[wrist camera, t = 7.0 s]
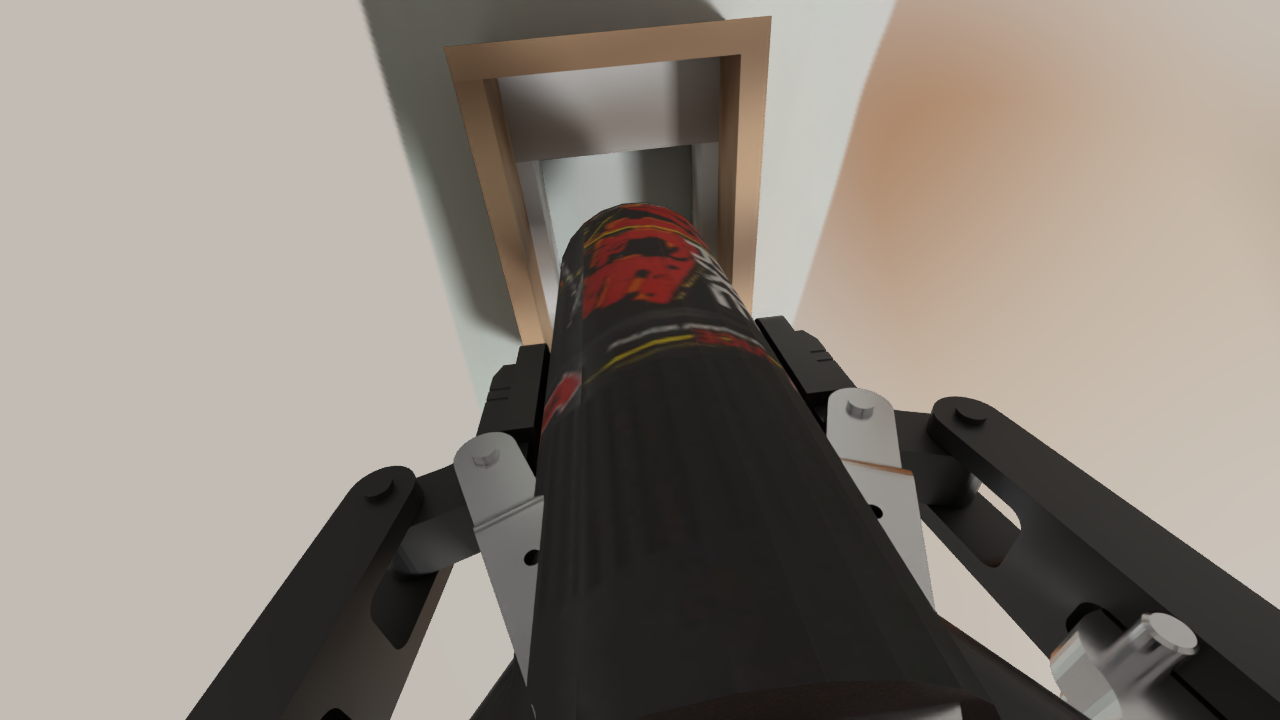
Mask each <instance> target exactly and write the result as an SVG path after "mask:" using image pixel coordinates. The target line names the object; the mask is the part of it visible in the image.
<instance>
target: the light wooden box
mask: <svg viewBox="0 0 1280 720" xmlns="http://www.w3.org/2000/svg"><path fill="white" fill-rule="evenodd" d="M771 18H772V16H764V17H753V18H743V19H732V20H722V21H711V22H701V23H690V24H679V25H669V26H658V27H648V28H637V29H627V30H616V31H605V32H595V33H584V34H574V35H563V36H553V37H542V38H531V39H521V40H510V41H500V42H489V43H479V44H468V45H457V46H447V47H444V50H445V54H446V57H447V61H448V65H449V69H450V72H451V76H452V80H453V84H454V88H455V91H456V95H457V99H458V103H459V106H460V110H461V114H462V118H463V121H464V125H465V129H466V133H467V136H468V140H469V144H470V148H471V151H472V155H473V159H474V163H475V167H476V170H477V174H478V178H479V182H480V185H481V189H482V193H483V197H484V200H485V204H486V208H487V212H488V215H489V219H490V223H491V227H492V230H493V234H494V238H495V242H496V245H497V249H498V253H499V257H500V261H501V264H502V268H503V272H504V276H505V279H506V283H507V287H508V291H509V294H510V298H511V302H512V306H513V309H514V313H515V317H516V321H517V324H518V328H519V332H520V336H521V340H522V343H523V346H525V345H533V344H541V343H547V344H548V347H549V350H550V354H551V345H552V337H553V329H554V320H555V312H556V304H557V296H558V287H559V279H560V272H561V270H560V265H559V259H558V254H557V249H556V243H555V238H554V233H553V228H552V222H551V217H550V212H549V207H548V201H547V196H546V191H545V185H544V180H543V175H542V170H541V164H540V160H548V159H558V158H567V157H577V156H587V155H596V154H606V153H615V152H625V151H635V150H644V149H654V148H664V147H673V146H683V145H692V206H693V226H694V227H695V228H696V229H697V230H698V232H699V234H700V235H701V237H702V238H703V240H704V242H705V243H706V245H707V246H708V248H709V250H710V251H711V253H712V254H713V256H714V258H715V259H716V261H717V262H718V264H719V266H720V267H721V269H722V270H723V272H724V274H725V275H726V277H727V278H728V280H729V282H730V283H731V285H732V286H733V288H734V290H735V291H736V293H737V294H738V296H739V297H740V299H741V301H742V302H743V304H744V305H745V307H746V309H747V310H748V312H749V313H750V315H751V316H752V301H753V286H754V271H755V256H756V242H757V227H758V212H759V197H760V182H761V167H762V152H763V137H764V122H765V107H766V92H767V78H768V63H769V48H770V33H771Z"/></svg>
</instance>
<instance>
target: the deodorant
mask: <svg viewBox="0 0 1280 720" xmlns="http://www.w3.org/2000/svg"><path fill="white" fill-rule="evenodd" d="M540 494H543V496H544V507H543V517H542V528H541V538H540V549H539V551H538V552H537V553H536V555H535V557H534V559H533V561H532V563H531V566H533V565H536V564H537V563H538V570H537V581H536V591H535V602H534V612H533V623H532V633H531V644H530V654H529V665H528V675H527V687H526V684H525V681H524V678H523V675H522V672H521V669H520V666H519V663H518V660H517V657H516V654H515V651H514V665H513V674H512V683H511V692H510V700H509V709H508V717H507V720H836V719H842V718H849V717H856V716H862V715H869V714H876V713H882V712H889V711H895V710H902V709H909V708H915V707H922V706H929V705H935V704H942V703H949V702H955V701H959V703H960V708H961V714H962V720H1001V718H1000V716H999V714H998V712H997V710H996V707H995V705H994V704H993V702H992V700H991V699H990V697H989V696H988V694H987V692H986V691H985V689H984V688H983V686H982V684H981V683H980V681H979V680H978V678H977V676H976V675H975V673H974V672H973V670H972V668H971V667H970V665H969V664H968V662H967V660H966V659H965V657H964V656H963V654H962V652H961V651H960V649H959V648H958V646H957V644H956V643H955V641H954V640H953V638H952V636H951V635H950V633H949V632H948V630H947V628H946V627H945V625H944V624H943V622H942V620H941V619H940V617H939V616H938V614H937V612H936V611H934V609H933V607H932V606H931V604H930V603H929V601H928V599H927V598H926V596H925V595H924V593H923V591H922V590H921V588H920V587H919V585H918V583H917V582H916V580H915V579H914V577H913V575H912V574H911V572H910V571H909V569H908V567H907V566H906V564H905V563H904V561H903V559H902V558H901V556H900V554H899V553H898V551H897V550H896V548H895V546H894V545H893V543H892V542H891V540H890V538H889V537H888V535H887V534H886V532H885V530H884V529H883V527H882V526H881V524H880V522H879V521H878V518H877V517H876V515H875V513H874V512H873V510H872V509H871V507H870V505H868V503H867V502H866V500H865V498H864V497H863V495H862V494H861V492H860V490H859V489H858V487H857V486H856V484H855V482H854V481H853V479H852V478H851V476H850V474H849V473H848V471H847V469H846V468H845V466H844V465H843V463H842V461H841V459H840V457H839V456H838V454H837V453H836V451H835V449H834V448H833V446H832V445H831V443H830V441H829V440H828V438H827V437H826V435H825V433H824V432H823V430H822V429H821V427H820V425H819V424H818V422H817V421H816V419H815V417H814V416H813V414H812V413H811V411H810V409H809V408H808V406H807V405H806V403H805V401H804V400H803V398H802V397H801V395H800V393H799V392H798V390H797V389H796V387H795V385H794V384H793V382H792V381H791V379H790V377H789V376H788V374H787V373H786V371H785V369H784V368H783V366H782V365H781V363H780V361H779V360H778V358H777V357H776V355H775V353H774V352H773V350H772V349H771V347H770V345H769V344H768V342H767V341H766V339H765V337H764V336H763V334H762V333H761V331H760V329H759V328H758V326H757V325H756V323H755V321H754V320H753V318H752V317H751V315H750V313H749V312H748V310H747V309H746V307H745V305H744V304H743V302H742V301H741V299H740V297H739V296H738V294H737V293H736V291H735V290H734V288H733V286H732V285H731V283H730V282H729V280H728V278H727V277H726V275H725V274H724V272H723V270H722V269H721V267H720V266H719V264H718V262H717V261H716V259H715V258H714V256H713V254H712V253H711V251H710V250H709V248H708V246H707V245H706V243H705V242H704V240H703V238H702V237H701V235H700V234H699V232H698V230H697V229H696V228H695V227H694V226H693V225H692V224H691V223H689V222H688V221H687V220H686V219H685V218H684V217H683V216H682V215H680V214H678V213H676V212H674V211H672V210H670V209H668V208H666V207H664V206H659V205H654V204H649V203H645V202H641V203H627V204H620V205H617V206H614V207H612V208H609V209H606V210H603V211H601V212H599V213H598V214H597V215H595V216H594V217H592V218H591V219H589V220H588V221H586V222H585V223H584V224H583V225H582V226H581V227H580V229H579V230H578V231H577V232H576V233H575V235H574V236H573V237H572V238H571V239H570V242H569V244H568V246H567V248H566V251H565V253H564V255H563V257H562V264H561V272H560V279H559V287H558V296H557V304H556V312H555V320H554V329H553V337H552V345H551V354H550V362H549V370H548V378H547V387H546V395H545V403H544V412H543V420H542V428H541V436H540V445H539V453H538V461H537V469H536V483H535V492H534V497H536V496H538V495H540ZM531 704H532V705H533V708H534V710H535V715H534V712H533V709H532V705H531ZM535 716H536V719H535Z"/></svg>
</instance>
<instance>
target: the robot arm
mask: <svg viewBox="0 0 1280 720" xmlns="http://www.w3.org/2000/svg"><path fill="white" fill-rule="evenodd" d="M755 323H756V325H757V326H758V328H759V329H760V331H761V333H762V334H763V336H764V337H765V339H766V341H767V342H768V344H769V345H770V347H771V349H772V350H773V352H774V353H775V355H776V357H777V358H778V360H779V361H780V363H781V365H782V366H783V368H784V369H785V371H786V373H787V374H788V376H789V377H790V379H791V381H792V382H793V384H794V385H795V387H796V389H797V390H798V392H799V393H800V395H801V397H802V398H803V400H804V401H805V403H806V405H807V406H808V408H809V409H810V411H811V413H812V414H813V416H814V417H815V419H816V421H817V422H818V424H819V425H820V427H821V429H822V430H823V432H824V433H825V435H826V437H827V438H828V440H829V441H830V443H831V445H832V446H833V448H834V449H835V451H836V453H837V454H838V456H839V457H840V459H841V461H842V463H843V465H844V466H845V468H846V469H847V471H848V473H849V474H850V476H851V478H852V479H853V481H854V482H855V484H856V486H857V487H858V489H859V490H860V492H861V494H862V495H863V497H864V498H865V500H866V502H867V503H868V505H870V507H871V509H872V510H873V512H874V513H875V515H876V517H877V518H878V521H879V522H880V524H881V526H882V527H883V529H884V530H885V532H886V534H887V535H888V537H889V538H890V540H891V542H892V543H893V545H894V546H895V548H896V550H897V551H898V553H899V554H900V556H901V558H902V559H903V561H904V563H905V564H906V566H907V567H908V569H909V571H910V572H911V574H912V575H913V577H914V579H915V580H916V582H917V583H918V585H919V587H920V588H921V590H922V591H923V593H924V595H925V596H926V598H927V599H928V601H929V603H930V604H931V606H932V607H933V609H934V611H935V606H934V600H933V593H932V587H931V581H930V575H929V568H928V562H927V556H926V549H925V543H924V537H923V531H922V525H921V519H922V520H923V521H924V523H925V524H926V525H927V526H928V527H929V528H930V529H931V530H932V531H933V532H934V533H935V535H936V536H937V537H938V538H939V539H940V540H941V541H942V542H943V543H944V544H945V546H946V547H947V548H948V549H949V550H950V551H951V552H952V553H953V554H954V555H955V557H956V558H958V560H959V561H960V562H961V563H962V564H963V565H964V566H965V568H966V569H967V570H968V571H969V572H970V573H971V574H972V575H973V576H974V577H975V578H976V580H977V581H978V582H979V583H980V584H981V585H982V586H983V587H984V588H985V589H986V590H987V591H988V593H989V594H990V595H991V596H992V597H993V598H994V599H995V600H996V602H997V603H999V605H1000V606H1001V607H1002V608H1003V609H1004V610H1005V611H1006V612H1007V614H1008V615H1009V616H1010V617H1011V618H1012V619H1013V620H1014V621H1015V622H1016V623H1017V625H1018V626H1019V627H1020V628H1021V629H1022V630H1023V631H1024V632H1025V633H1026V634H1027V636H1028V637H1029V638H1030V639H1031V640H1032V641H1033V642H1034V643H1035V644H1036V645H1037V646H1038V648H1039V649H1040V650H1041V651H1042V652H1043V653H1044V654H1045V655H1046V656H1047V657H1048V659H1049V660H1050V667H1051V671H1052V675H1053V677H1054V679H1055V682H1056V683H1057V685H1058V687H1059V688H1060V690H1061V693H1060V698H1059V697H1058V696H1056V695H1055V694H1053V693H1052V692H1050V691H1049V690H1047V689H1046V688H1044V687H1043V686H1042V685H1040V684H1039V683H1037V682H1036V681H1034V680H1033V679H1031V678H1030V677H1028V676H1027V675H1025V674H1024V673H1023V672H1021V671H1020V670H1018V669H1017V668H1015V667H1013V666H1012V665H1011V664H1009V663H1008V662H1006V661H1005V660H1004V659H1002V658H1001V657H999V656H998V655H996V654H995V653H993V652H992V651H990V650H989V649H988V648H986V647H985V646H983V645H982V644H980V643H979V642H977V641H976V640H974V639H973V638H971V637H970V636H969V635H967V634H966V633H964V632H963V631H961V630H960V629H958V628H957V627H955V626H954V625H952V624H951V623H949V622H948V621H947V620H945V619H944V618H942V617H941V616H939V615H938V616H939V617H940V619H941V620H942V622H943V624H944V625H945V627H946V628H947V630H948V632H949V633H950V635H951V636H952V638H953V640H954V641H955V643H956V644H957V646H958V648H959V649H960V651H961V652H962V654H963V656H964V657H965V659H966V660H967V662H968V664H969V665H970V667H971V668H972V670H973V672H974V673H975V675H976V676H977V678H978V680H979V681H980V683H981V684H982V686H983V688H984V689H985V691H986V692H987V694H988V696H989V697H990V699H991V700H992V702H993V704H994V705H995V707H996V710H997V712H998V714H999V716H1000V718H1001V720H1280V610H1279V609H1277V608H1276V607H1275V606H1273V605H1272V604H1270V603H1269V602H1268V601H1266V600H1265V599H1264V598H1262V597H1261V596H1259V595H1258V594H1256V593H1255V592H1253V591H1252V590H1251V589H1249V588H1248V587H1247V586H1245V585H1243V584H1242V583H1241V582H1240V581H1238V580H1237V579H1235V578H1234V577H1232V576H1231V575H1230V574H1228V573H1227V572H1225V571H1224V570H1222V569H1221V568H1220V567H1218V566H1217V565H1215V564H1214V563H1213V562H1211V561H1210V560H1208V559H1207V558H1206V557H1204V556H1203V555H1201V554H1200V553H1198V552H1197V551H1196V550H1194V549H1193V548H1191V547H1190V546H1189V545H1187V544H1185V543H1184V542H1183V541H1182V540H1180V539H1179V538H1177V537H1176V536H1174V535H1173V534H1172V533H1170V532H1169V531H1167V530H1166V529H1164V528H1163V527H1162V526H1160V525H1159V524H1157V523H1156V522H1155V521H1153V520H1151V519H1150V518H1149V517H1148V516H1146V515H1145V514H1143V513H1142V512H1140V511H1139V510H1138V509H1136V508H1135V507H1133V506H1132V505H1130V504H1129V503H1128V502H1126V501H1125V500H1124V499H1122V498H1121V497H1119V496H1118V495H1116V494H1115V493H1114V492H1112V491H1111V490H1109V489H1108V488H1107V487H1105V486H1103V485H1102V484H1101V483H1099V482H1098V481H1097V480H1095V479H1094V478H1092V477H1091V476H1089V475H1088V474H1087V473H1085V472H1084V471H1083V470H1081V469H1080V468H1078V467H1077V466H1075V465H1074V464H1072V463H1071V462H1070V461H1068V460H1067V459H1066V458H1064V457H1063V456H1061V455H1060V454H1058V453H1057V452H1056V451H1054V450H1053V449H1051V448H1050V447H1049V446H1047V445H1045V444H1044V443H1043V442H1041V441H1040V440H1039V439H1037V438H1036V437H1034V436H1033V435H1032V434H1030V433H1029V432H1027V431H1026V430H1025V429H1023V428H1021V427H1020V426H1019V425H1017V424H1016V423H1015V422H1013V421H1012V420H1010V419H1009V418H1008V417H1006V416H1005V415H1003V414H1002V413H1000V412H999V411H998V410H996V409H995V408H993V407H991V406H989V405H988V404H985V403H983V402H981V401H978V400H974V399H970V398H965V397H946V398H942V399H940V400H938V401H937V402H936V403H935V404H934V406H933V409H932V411H931V414H929V413H918V412H908V411H899V410H893V407H892V405H891V404H890V403H889V402H888V401H887V400H886V399H885V398H884V397H882V396H881V395H879V394H877V393H875V392H872V391H869V390H866V389H860V388H857V387H856V386H855V385H854V384H853V382H852V381H851V380H850V379H849V378H848V376H847V375H846V374H845V373H844V371H843V370H842V369H841V367H839V365H838V364H837V363H836V361H833V358H832V357H831V355H830V354H829V353H828V352H826V349H825V348H824V346H823V345H822V344H821V343H820V342H819V340H818V339H817V338H815V337H813V336H812V335H810V334H808V333H806V332H805V331H803V330H800V331H794V329H793V328H792V327H791V325H790V324H789V323H788V321H787V320H786V319H785V318H784V316H774V317H765V318H757V319H756V320H755ZM549 362H550V350H549V347H548V344H547V343H541V344H533V345H525V346H520V348H519V352H518V357H517V361H516V364H512V365H504V366H503V367H502V368H501V369H500V370H499V371H498V372H497V373H496V374H495V376H494V377H493V379H492V382H491V386H490V389H489V390H490V392H489V393H488V396H487V402H486V403H485V407H484V410H483V414H482V417H481V420H480V424H479V427H478V431H477V434H476V437H474V438H472V439H471V440H469V441H468V442H466V443H465V444H464V445H463V446H462V447H461V448H460V449H459V450H458V451H457V453H456V455H455V457H454V462H453V464H451V465H449V466H447V467H445V468H442V469H439V470H437V471H434V472H431V473H428V474H426V475H423V476H420V477H417V478H416V477H415V475H414V473H413V471H412V470H410V469H409V468H407V467H403V466H390V467H385V468H382V469H379V470H377V471H374V472H372V473H370V474H368V475H367V476H365V477H364V478H362V479H361V480H360V481H359V482H357V483H356V484H355V485H354V486H353V487H352V488H351V489H350V491H349V492H348V493H347V495H346V496H345V498H344V499H343V500H342V502H341V503H340V505H339V506H338V508H337V509H336V510H335V512H334V513H333V514H332V516H331V517H330V519H329V520H328V521H327V523H326V524H325V526H324V527H323V529H322V530H321V531H320V533H319V534H318V535H317V537H316V538H315V540H314V541H313V542H312V544H311V545H310V547H309V548H308V549H307V551H306V552H305V553H304V555H303V556H302V558H301V559H300V560H299V562H298V563H297V565H296V566H295V567H294V569H293V570H292V572H291V573H290V575H289V576H288V577H287V579H286V580H285V581H284V583H283V584H282V586H281V587H280V588H279V590H278V591H277V593H276V594H275V595H274V597H273V598H272V600H271V601H270V602H269V604H268V605H267V606H266V608H265V609H264V611H263V612H262V613H261V615H260V616H259V618H258V619H257V620H256V622H255V623H254V625H253V626H252V627H251V629H250V631H249V632H248V633H247V634H246V636H245V637H244V639H243V640H242V641H241V643H240V644H239V646H238V647H237V648H236V650H235V651H234V653H233V654H232V655H231V657H230V658H229V660H228V661H227V662H226V664H225V665H224V667H223V668H222V669H221V671H220V672H219V673H218V675H217V676H216V678H215V679H214V681H213V682H212V683H211V685H210V686H209V688H208V689H207V690H206V692H205V693H204V694H203V696H202V697H201V699H200V700H199V702H198V703H197V704H196V706H195V707H194V708H193V710H192V711H191V713H190V714H189V716H188V717H187V718H186V720H390V718H391V716H392V713H393V711H394V709H395V706H396V703H397V701H398V699H399V696H400V694H401V692H402V689H403V687H404V684H405V682H406V680H407V677H408V674H409V672H410V670H411V667H412V665H413V662H414V660H415V658H416V655H417V653H418V650H419V648H420V646H421V643H422V641H423V638H424V636H425V634H426V631H427V629H428V626H429V624H430V621H431V619H432V617H433V614H434V612H435V609H436V607H437V604H438V602H439V600H440V597H441V595H442V592H443V590H444V587H445V585H446V583H447V580H448V578H449V575H450V573H451V570H452V568H453V565H454V563H456V562H459V561H461V560H463V559H466V558H468V557H470V556H472V555H475V554H477V553H479V552H481V554H482V557H483V560H484V563H485V566H486V569H487V572H488V575H489V577H490V581H491V583H492V586H493V589H494V592H495V595H496V598H497V601H498V604H499V607H500V610H501V613H502V616H503V619H504V622H505V625H506V628H507V631H508V634H509V637H510V640H511V643H512V645H513V648H514V651H515V654H516V657H517V660H518V663H519V666H520V669H521V672H522V675H523V678H524V681H525V684H526V687H527V675H528V665H529V654H530V644H531V633H532V623H533V612H534V602H535V591H536V581H537V570H538V563H537V564H536V565H533V566H531V563H532V561H533V559H534V557H535V555H536V553H537V552H538V551H539V549H540V538H541V528H542V517H543V507H544V496H543V494H540V495H538V496H536V497H534V492H535V483H536V469H537V461H538V453H539V445H540V436H541V428H542V420H543V412H544V403H545V395H546V387H547V378H548V370H549ZM981 483H984V484H985V485H986V486H987V487H988V488H989V489H991V490H992V491H993V492H994V493H995V494H996V495H997V496H998V497H1000V498H1001V499H1002V500H1003V501H1004V502H1005V503H1006V504H1007V505H1009V506H1010V507H1011V508H1012V509H1013V511H1014V512H1015V513H1016V515H1017V516H1018V518H1019V520H1020V524H1021V530H1020V529H1018V528H1017V527H1016V526H1015V525H1014V524H1013V523H1012V522H1011V521H1010V520H1009V519H1007V518H1006V517H1005V516H1004V515H1003V514H1002V513H1001V512H1000V511H999V510H998V509H996V508H995V507H994V506H993V505H992V504H991V503H990V502H989V501H988V500H987V499H985V498H984V497H983V496H982V495H981V494H980V493H979V492H978V489H979V487H980V485H981ZM513 665H514V658H513V660H512V661H511V662H510V664H509V665H508V667H507V668H506V670H505V671H504V672H503V674H502V675H501V677H500V678H499V679H498V681H497V682H496V683H495V685H494V686H493V688H492V689H491V690H490V692H489V693H488V695H487V696H486V698H485V699H484V700H483V702H482V703H481V705H480V706H479V707H478V709H477V710H476V711H475V713H474V714H473V716H472V717H471V718H470V720H507V717H508V709H509V700H510V692H511V683H512V674H513ZM531 705H532V704H531ZM532 709H533V712H534V715H535V710H534V708H533V705H532ZM535 719H536V716H535ZM836 720H962V714H961V708H960V703H959V701H955V702H949V703H942V704H935V705H929V706H922V707H915V708H909V709H902V710H895V711H889V712H882V713H876V714H869V715H862V716H856V717H849V718H842V719H836Z"/></svg>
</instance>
